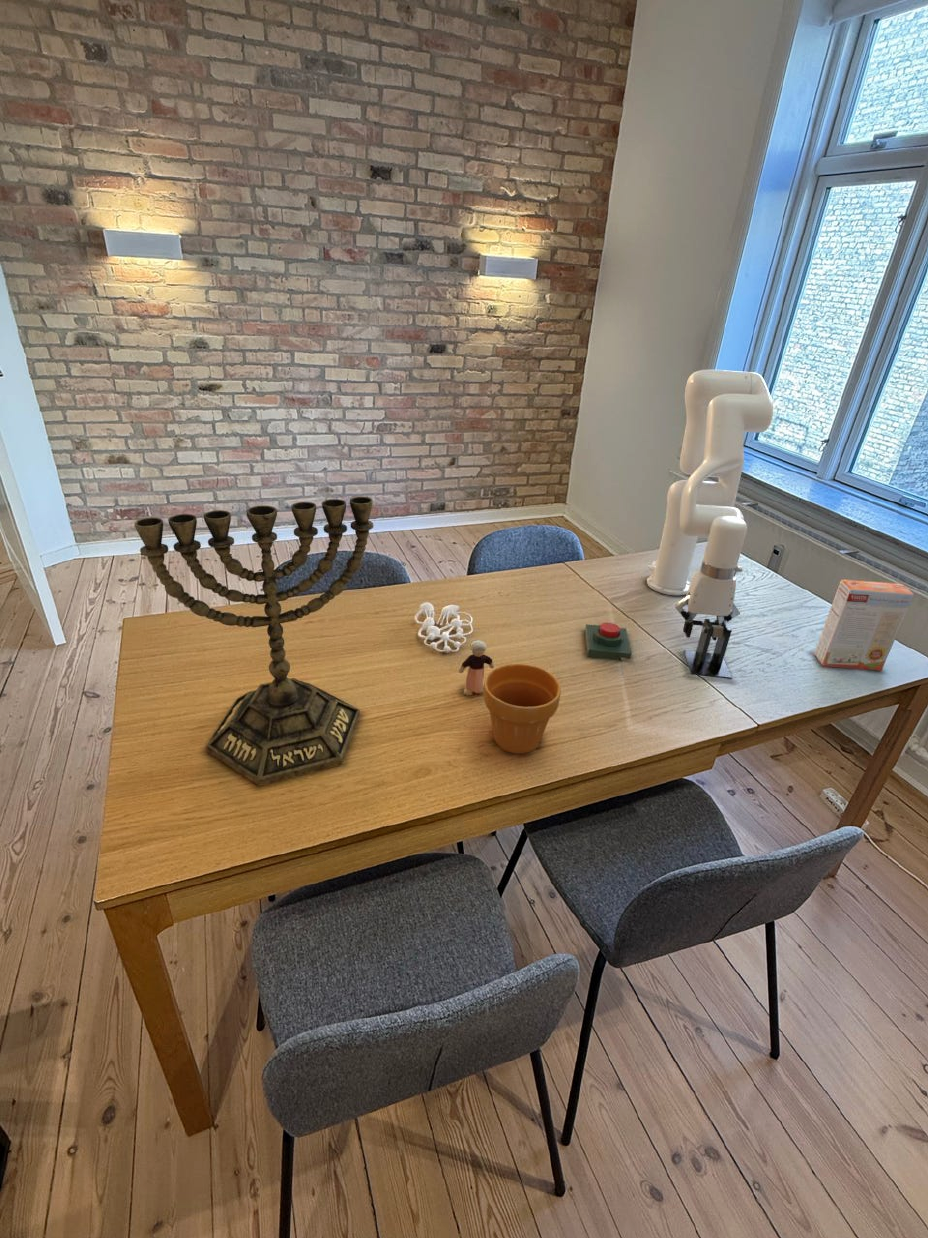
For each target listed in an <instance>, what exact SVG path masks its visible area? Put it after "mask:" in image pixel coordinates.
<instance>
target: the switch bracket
mask: <svg viewBox="0 0 928 1238" xmlns="http://www.w3.org/2000/svg"><path fill="white" fill-rule="evenodd" d="M703 621H704V624H703V626H702V628H701V631H700V635H699V639H698V643H697V647H696V650H695V651H694V650H683V654H684V658H685V660H686V661H685V662H686V663H687V666H688V669H689V671H690V675H692V676H702V677H710V678H719V679H729V680H732V679H733V677H732V674H731V672H730V669H729V667H728V665H727V663H726V662H725V659H724V658H725V655H726V651H727V648H728V644H729V642H730V638H731V636H732V628H731V626H730V624H729V621H728V622H727V621H722V625H721V626H722V627H723V628H724V630H723V636H722V638H717V639H716V642H715V646H714V650H713V652H708V649H709V647H710V642H711V639H712V637H711V636H712V632H713V626H712V624H711V622H710V621H711V620H710V619H709V618H704V620H703Z"/></svg>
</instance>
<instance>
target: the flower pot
mask: <svg viewBox="0 0 928 1238" xmlns="http://www.w3.org/2000/svg"><path fill="white" fill-rule="evenodd" d="M483 690H484V693H483V701H484V704H485V706H486V708H487V710H489V716H490V722H491V729H492V733H493V737H494V741H495V743H496V744H497V745H498V747H500V748H501V749H502V750H504V751H505V752H509V753H512V754H525V753H526V754H527V753H531V752H532V751H534V750H535V749H537V747H538V746H539V744H540V742H541V740H542V737H543V735H544V734H545V731H546V728H547V725H548V722H549V721H550V718H552V717H553V716H554V715H555V713H556V712H557V710H558V708H559V704H560V700H561V695H562V694H561V692H562V688H561V684H560V682H559V680H558V679H557V677H556V676H555V675H554V674H552V673H551V672H549V671H548V670H546V669H544V668H541V667H539V666H536V665H531V664H526V663H509V664H504V665H500V666H498V667H494V668H493V669H492V670H491V671H490V672H488V673H487V675H486V676H485V678H484V680H483Z"/></svg>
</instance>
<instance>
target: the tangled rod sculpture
mask: <svg viewBox="0 0 928 1238" xmlns="http://www.w3.org/2000/svg"><path fill="white" fill-rule="evenodd" d="M459 610H460V606H459V605H457V604H449V605H447V606H444V607H443V608H442V609H441V612H440V615H439V617H438V619H437V621H436V622H435V615H436V612H435V607H434V606H433V604H432V603H430V602H427V601H426V602H423V603H421V604H420V605H419V608H418V611H417V612H416V613H415V614H414V622H415V624H417V625H419V626H421V627H420V629H418V632H417V636H418V638H420V639H422V640H423V645H425V646H426V647H429V648H430V649H431V650H436V651H437V652H439V653H442V652H443V653H445V654H449V653H451V652H453V653H455V652H458V651H459V650H460V648H461V646H462V645H464V644H465V643H466V642H467V637H465V636H469V635H471V634H472V633H473V632H474V628H473V625H472V624H473V620H474V619H473V616H472V615H471V614H470V613H468V612H467V611H466V612H465V611H459ZM461 614H462V615H466V616H468V617H469V619H470V621H469V620H468V619H461V616H460V615H461ZM420 615H421V617H423V618H425V619H424V621H419V620H418V617H419V616H420ZM453 616H454V617H456V618H453ZM441 618H442V619H441ZM452 618H453V619H452ZM450 619H452V620H451V621H450V622H449V620H450ZM444 620H445V621H446V623H445V625H444V626H443V623H444ZM463 622H466V623H463ZM436 625H437V626H436ZM438 625H439V626H440V628H439V627H438ZM468 626H469V627H470V631H469V632H467V633H464V629H463V628H462V627H468ZM448 628H449V629H448ZM446 629H448V630H446ZM443 630H445V631H443ZM452 630H453V631H455V632H456V633H455V634H450V633H451V632H452ZM441 631H443V632H442V633H441ZM422 632H425V633H426V635H423V634H422ZM451 638H453V639H454V638H456V639H457V640H461V639H463V641H461V642H460V641H454V640H453V639H451ZM437 639H439V640H438V641H436V642H435V641H434V640H437ZM428 640H429V641H432V642H430V644H428V643H427V641H428ZM448 642H449V643H451V644H453V648H455V649H452V648H451V647H450V645H448ZM441 643H444V646H443V648H442V649H439V648H438V645H439V644H441Z"/></svg>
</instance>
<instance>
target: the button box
mask: <svg viewBox="0 0 928 1238" xmlns="http://www.w3.org/2000/svg"><path fill="white" fill-rule="evenodd" d="M600 626H601V624H585V626H584V627H585V628H584V638H585V647H586V657H587V658H593V659H603V660H611V661H612V660H613V661H622V658H624V659H631V657H632V650H631V649H632V648H631V644H630V641H629V636H628V632H627V627H619V628H620V630H619V635H618V637H615V638H609V637H605V636H602V635H601V634H600V633H599V631H600Z"/></svg>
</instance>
